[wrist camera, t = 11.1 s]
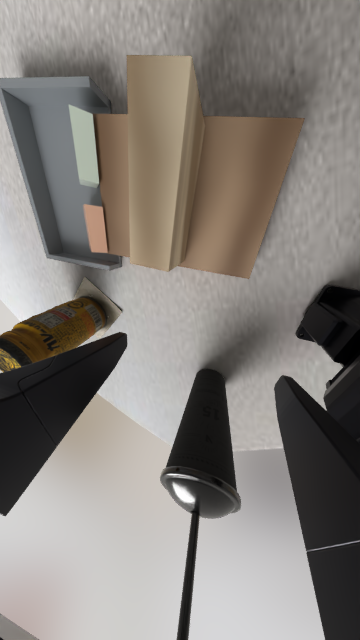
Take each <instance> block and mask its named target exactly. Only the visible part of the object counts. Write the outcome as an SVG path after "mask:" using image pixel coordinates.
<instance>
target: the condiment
mask: <svg viewBox="0 0 360 640" xmlns="http://www.w3.org/2000/svg"><path fill="white" fill-rule="evenodd" d="M89 295H90V296H91V295H93V296H91V297H90V296H89ZM121 313H122V311H121V310H120V309H118V307H117V306H116V305H115V304H114V303H113V302H112V301H111V300H110V299H109V298H108V297H107V296H105V295H104V294H103V293H102V291H100V290H99V289H98V288H97V287H95V285H94V284H93V283H91V282H90V281H89V280H88V279H87V278H86V277H84V279H83V281H82V283H81V285H80V286H79V289H78V290H77V292H76V295H75V297H74V299H73V300H72V301H69V302H66V303H64V304H61V305H59V306H55V307H54V308H52V309H50V310H47V311H45V312H43V313H41V314H38V315H35V316H32V317H31V318H29V319H27V320H24V321H22V322H20V323H18V324H17V325H15V326H14V327H13V329H12V331H7V332H5V333H3V334H2V335H0V370H1V371H3V372H6V371H10V370H13V369H16V368H19V367H23V366H26V365H29V364H32V363H35V362H38V361H41V360H44V359H47V358H49V357H52V356H55V355H56V356H57V355H58V354H60V353H63V352H66V351H69V350H72V349H74V348H76V347H78V346H79V345H81V344H82V343H83V342H84V341H86V340H87V339H89V338H90V337H91V336H92V335H94V334H95V335H96V336H97V337H98V338H99V339H100V338H101V337H102V336H103V335H104V334H105V332H106V331H107V330H108V329H109V328H110V326H111V325H112V324H113V323H114V322H115V320H116V319H117V318H118V317H119V315H120V314H121Z"/></svg>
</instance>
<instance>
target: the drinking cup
mask: <svg viewBox="0 0 360 640" xmlns="http://www.w3.org/2000/svg"><path fill="white" fill-rule="evenodd" d="M160 481H161V483H162V485H163V486H164V487H165V489H167V490H168V492H169V494H170V495H171V497H172V498H173V499H174V501H175V502H176V503H177V504H178V505H180V506H181V507H182V508H184V509H185V510H186V511H188V512H190V513H191V514H192V517H191V526H190V534H189V542H188V551H187V558H186V567H185V576H184V583H183V592H182V601H181V608H180V616H179V625H178V633H177V640H188V636H189V624H190V613H191V603H192V592H193V581H194V570H195V559H196V549H197V538H198V528H199V517H202V518H212V519H213V518H221V517H223V516H225V515H228V514H229V513H235V512H237V511H239V510H240V508H241V499H240V496H239V494H238V493H237V488H236V480H235V470H234V461H233V452H232V443H231V434H230V425H229V416H228V407H227V398H226V389H225V380H224V378H223V376H222V375H221V374H220V373H218V372H217V371H214V370H210V369H205V370H201V371H199V372H198V373H197V375H196V377H195V380H194V383H193V386H192V389H191V392H190V395H189V399H188V402H187V405H186V408H185V411H184V414H183V417H182V420H181V423H180V426H179V429H178V432H177V435H176V438H175V441H174V444H173V447H172V450H171V453H170V456H169V459H168V463H167V466H166V468H165V469H163V471H162V473H161V477H160Z"/></svg>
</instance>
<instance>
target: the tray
mask: <svg viewBox="0 0 360 640" xmlns="http://www.w3.org/2000/svg"><path fill="white" fill-rule="evenodd" d="M0 101H1V105H2V108H3V112H4V115H5V118H6V122H7V125H8V128H9V132H10V135H11V139H12V142H13V145H14V149H15V152H16V155H17V159H18V162H19V166H20V169H21V172H22V176H23V179H24V182H25V186H26V189H27V193H28V196H29V199H30V203H31V206H32V209H33V213H34V216H35V220H36V223H37V226H38V230H39V233H40V236H41V240H42V243H43V247H44V250H45V253H46V257H47V258H49V259H54V260H59V261H64V262H69V263H74V264H79V265H84V266H89V267H94V268H99V269H104V270H109V271H110V270H113V269H116V268H119V267H122V265H121V256H119V255H114V254H108V253H100V252H91V249H90V247H89V241H88V235H87V229H86V223H85V217H84V210H83V205H84V204H87V205H93V206H99V207H102V201H101V192H100V182H99V185H98V187H97V188H93V187H89V186H85V185H80V181H79V174H78V167H77V160H76V154H75V147H74V140H73V133H72V126H71V119H70V112H69V105H72V106H74V107H77V108H79V109H81V110H84V111H86V112H89V113H91V114H111V104H110V100H109V99H108V98H107V97H106V95H105V94H104V93H103V92H102V91H101V90H100V89H99V87H98V86H97V85H96V84H95V83H94V82H93V80H92V79H91V78H90V77H89V76H76V77H29V78H0ZM68 104H69V105H68ZM97 166H98V164H97ZM98 176H99V173H98Z"/></svg>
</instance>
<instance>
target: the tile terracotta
mask: <svg viewBox="0 0 360 640" xmlns="http://www.w3.org/2000/svg"><path fill="white" fill-rule="evenodd" d="M83 210H84V217H85V223H86V229H87V235H88V241H89V247H90V249H91V252H100V253H108V251H107V242H106V233H105V224H104V215H103V207H99V206H93V205H87V204H84V205H83Z"/></svg>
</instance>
